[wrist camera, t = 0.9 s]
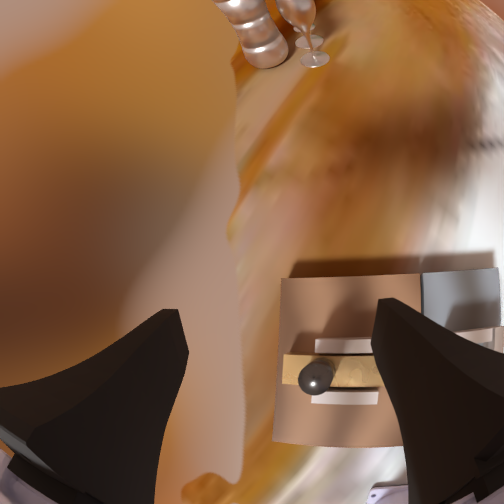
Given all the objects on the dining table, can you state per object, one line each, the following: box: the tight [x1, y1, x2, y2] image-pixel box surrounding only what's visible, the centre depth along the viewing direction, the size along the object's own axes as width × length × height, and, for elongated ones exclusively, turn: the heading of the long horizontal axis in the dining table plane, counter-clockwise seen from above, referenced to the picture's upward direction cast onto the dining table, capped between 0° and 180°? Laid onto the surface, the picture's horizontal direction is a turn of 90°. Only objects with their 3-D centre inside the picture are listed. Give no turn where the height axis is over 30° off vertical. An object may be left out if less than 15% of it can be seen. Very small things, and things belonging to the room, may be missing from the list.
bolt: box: [282, 352, 384, 396], centre depth 18 cm, size 8×2×5 cm, turn 88°
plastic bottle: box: [212, 0, 288, 69], centre depth 25 cm, size 6×7×20 cm
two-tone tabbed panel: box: [272, 268, 504, 448], centre depth 18 cm, size 20×15×4 cm
